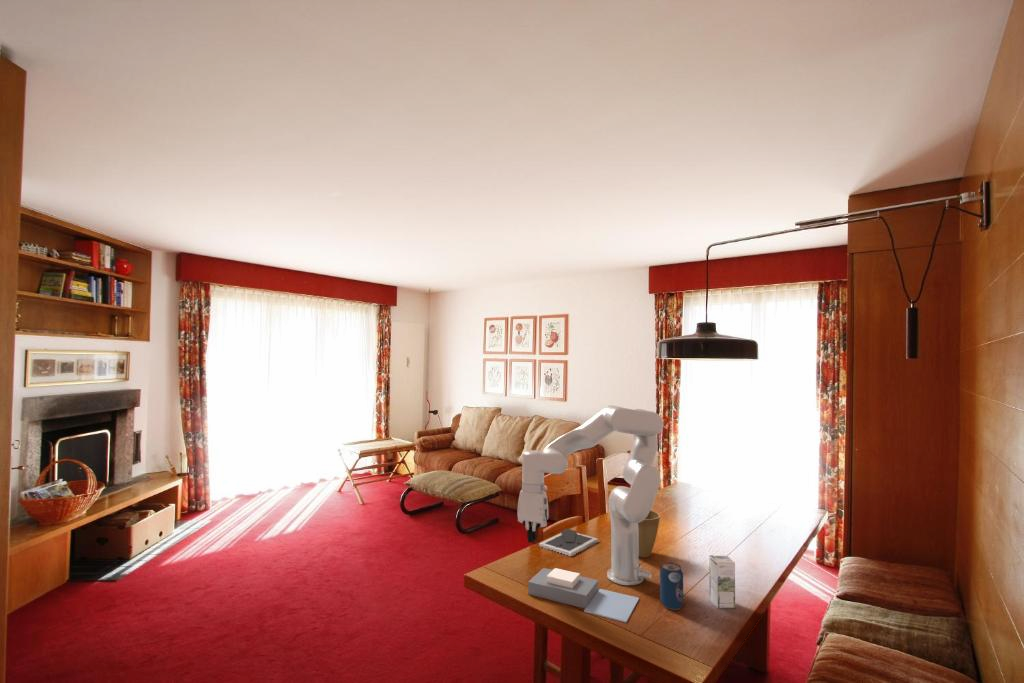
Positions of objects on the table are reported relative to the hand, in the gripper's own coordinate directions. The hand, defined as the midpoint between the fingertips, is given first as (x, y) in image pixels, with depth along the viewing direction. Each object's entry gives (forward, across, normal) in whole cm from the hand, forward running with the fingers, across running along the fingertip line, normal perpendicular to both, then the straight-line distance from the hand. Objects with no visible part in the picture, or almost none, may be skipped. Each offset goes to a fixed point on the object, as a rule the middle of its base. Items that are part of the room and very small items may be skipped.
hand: (531, 541), depth 163 cm
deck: (+15, -12, 0) cm, 19 cm away
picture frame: (+15, +2, -42) cm, 44 cm away
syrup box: (+14, -59, -18) cm, 63 cm away
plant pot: (+14, -27, -46) cm, 55 cm away
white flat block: (+11, -12, 0) cm, 16 cm away
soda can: (+14, -45, -10) cm, 48 cm away
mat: (+14, -28, 0) cm, 32 cm away
